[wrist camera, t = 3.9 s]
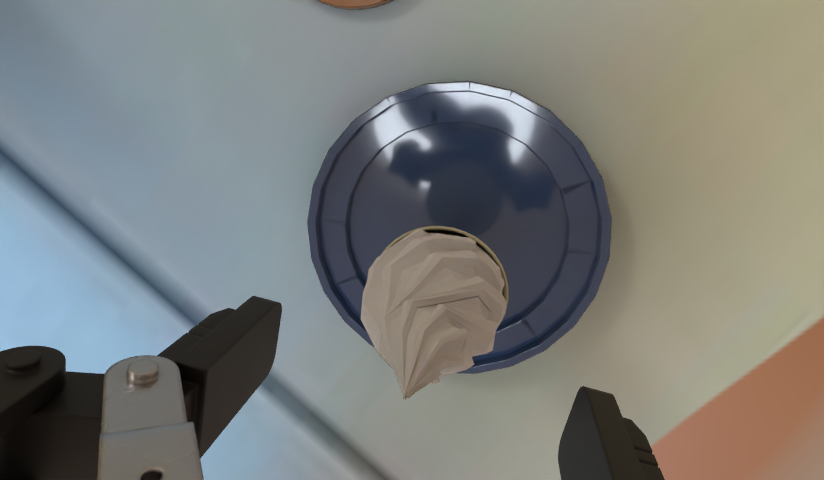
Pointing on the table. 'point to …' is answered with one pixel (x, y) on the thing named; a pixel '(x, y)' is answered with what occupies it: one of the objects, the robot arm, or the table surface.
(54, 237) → the table surface
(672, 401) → the table surface
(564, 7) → the table surface
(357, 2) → the coaster
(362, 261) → the plate
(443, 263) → the ice cream cone
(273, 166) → the table surface
